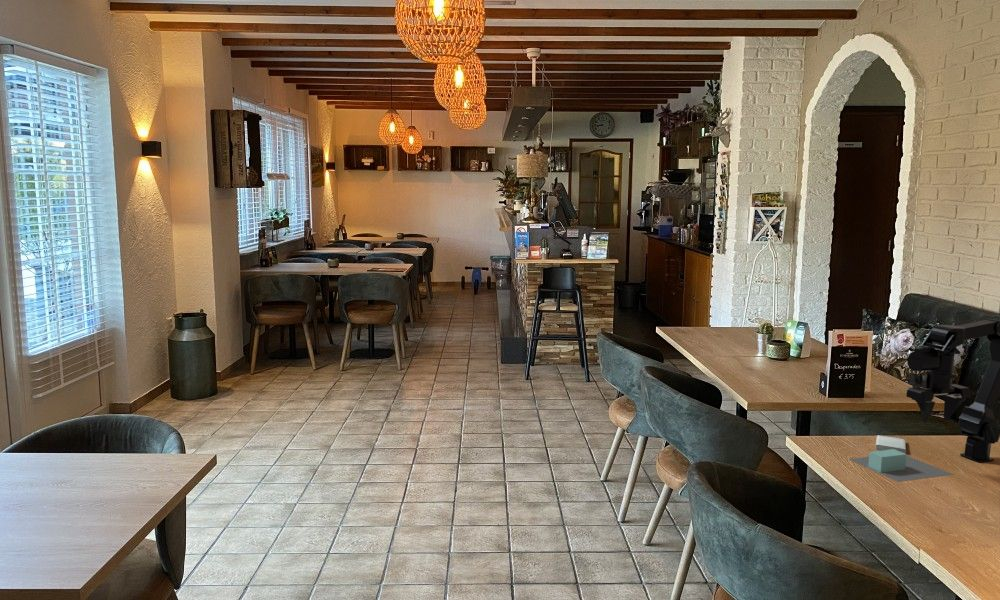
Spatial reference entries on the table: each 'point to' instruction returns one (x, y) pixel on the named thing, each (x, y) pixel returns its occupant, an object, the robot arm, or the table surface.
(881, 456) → the teal block
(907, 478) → the rubber mat
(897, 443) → the hard drive
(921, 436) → the table surface
